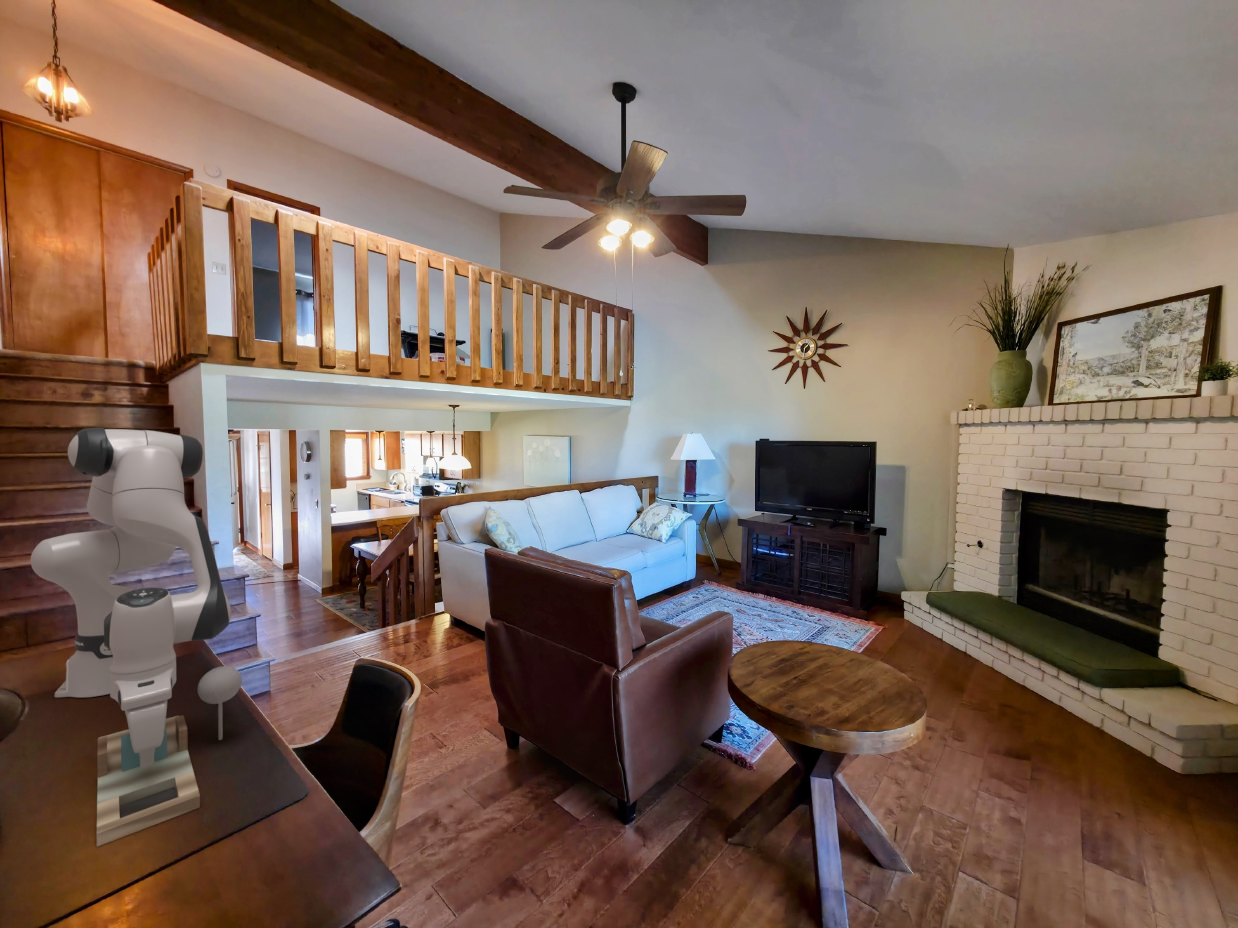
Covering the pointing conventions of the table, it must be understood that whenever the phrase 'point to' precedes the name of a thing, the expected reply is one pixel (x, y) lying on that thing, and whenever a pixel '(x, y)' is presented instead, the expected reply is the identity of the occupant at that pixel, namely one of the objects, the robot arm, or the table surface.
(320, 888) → the table surface
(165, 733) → the block
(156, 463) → the robot arm
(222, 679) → the lollipop
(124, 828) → the deck
